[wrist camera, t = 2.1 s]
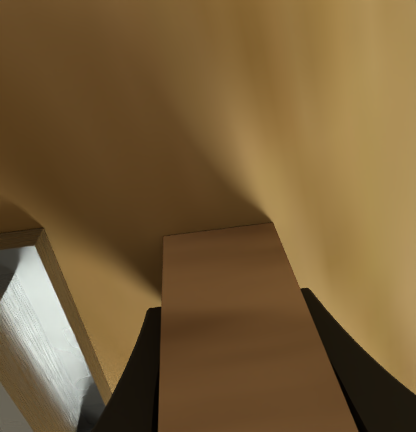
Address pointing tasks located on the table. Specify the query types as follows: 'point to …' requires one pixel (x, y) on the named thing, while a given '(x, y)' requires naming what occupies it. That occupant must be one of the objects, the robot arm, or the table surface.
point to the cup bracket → (43, 344)
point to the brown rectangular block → (241, 340)
